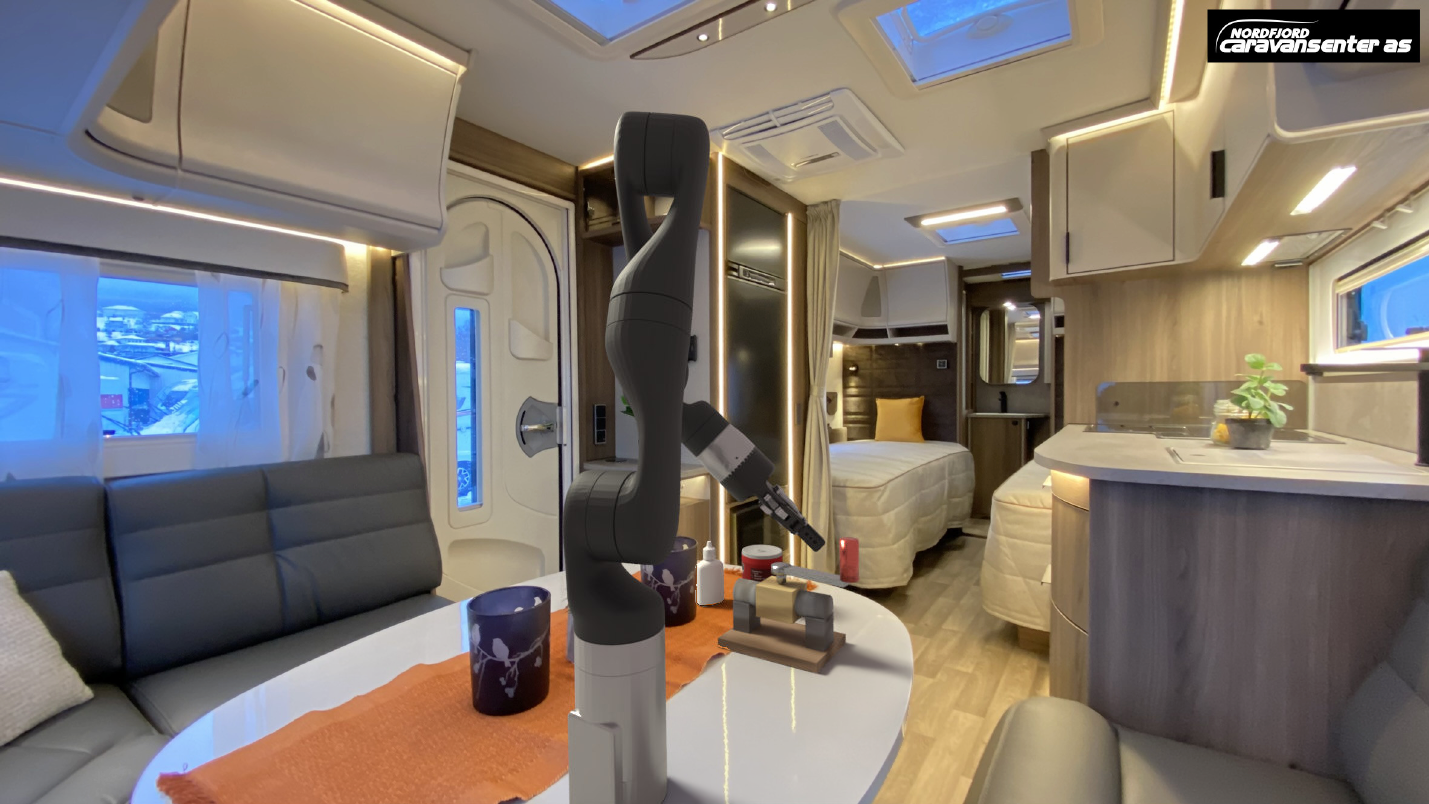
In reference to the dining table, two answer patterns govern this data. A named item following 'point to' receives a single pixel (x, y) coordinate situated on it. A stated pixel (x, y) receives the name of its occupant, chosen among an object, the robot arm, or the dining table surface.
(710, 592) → the eye dropper bottle
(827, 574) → the valve lever
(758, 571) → the canned food
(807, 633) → the valve stand
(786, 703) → the dining table surface
